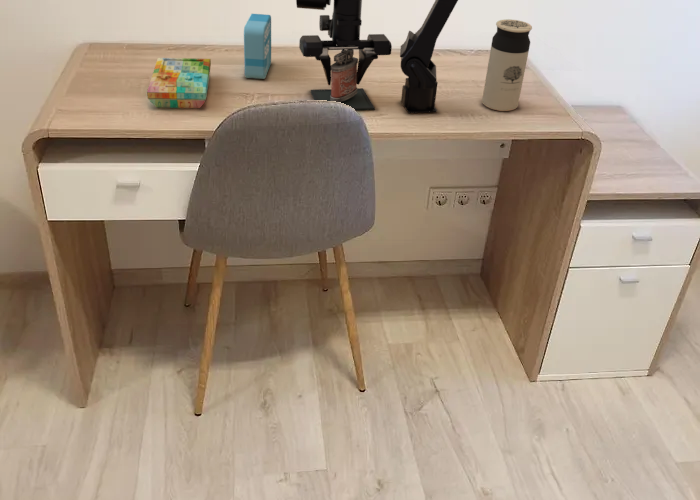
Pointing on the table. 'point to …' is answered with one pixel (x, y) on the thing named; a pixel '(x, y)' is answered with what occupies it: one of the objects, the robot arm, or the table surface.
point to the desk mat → (357, 101)
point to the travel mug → (506, 65)
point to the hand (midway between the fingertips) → (343, 84)
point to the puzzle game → (179, 82)
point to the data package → (257, 46)
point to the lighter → (343, 76)
